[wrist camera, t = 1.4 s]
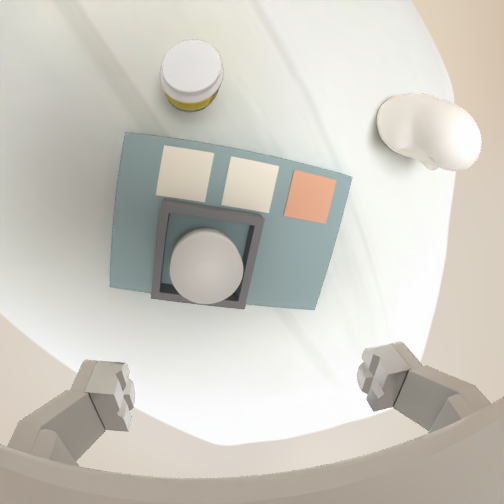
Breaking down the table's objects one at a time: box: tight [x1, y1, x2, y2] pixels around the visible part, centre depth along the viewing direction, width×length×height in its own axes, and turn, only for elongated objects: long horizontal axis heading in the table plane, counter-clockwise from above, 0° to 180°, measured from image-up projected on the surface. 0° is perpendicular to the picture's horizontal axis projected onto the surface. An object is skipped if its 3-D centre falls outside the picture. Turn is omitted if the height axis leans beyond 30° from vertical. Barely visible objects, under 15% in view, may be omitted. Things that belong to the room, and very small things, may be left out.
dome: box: [170, 228, 243, 304], centre depth 26 cm, size 6×6×4 cm
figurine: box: [377, 93, 481, 171], centre depth 24 cm, size 7×8×12 cm
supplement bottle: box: [160, 40, 223, 112], centre depth 21 cm, size 5×5×8 cm
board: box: [110, 132, 352, 310], centre depth 28 cm, size 22×15×3 cm
